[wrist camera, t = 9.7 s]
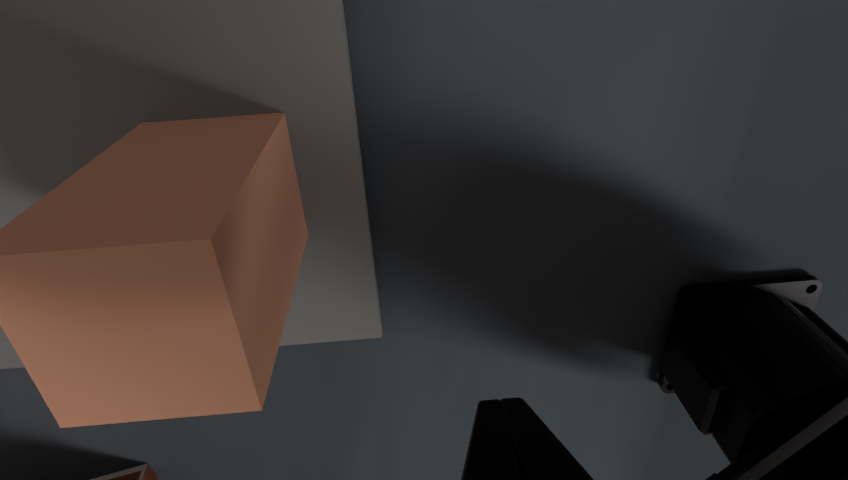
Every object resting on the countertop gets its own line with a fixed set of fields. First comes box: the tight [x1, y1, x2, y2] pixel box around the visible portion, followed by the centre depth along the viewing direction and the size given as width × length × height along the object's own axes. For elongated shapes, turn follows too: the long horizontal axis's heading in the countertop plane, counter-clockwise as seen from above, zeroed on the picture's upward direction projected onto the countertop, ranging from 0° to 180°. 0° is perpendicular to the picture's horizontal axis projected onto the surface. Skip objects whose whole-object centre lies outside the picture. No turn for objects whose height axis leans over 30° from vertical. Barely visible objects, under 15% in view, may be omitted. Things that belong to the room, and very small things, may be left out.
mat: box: [0, 0, 382, 369], centre depth 20 cm, size 18×16×1 cm
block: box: [0, 113, 308, 428], centre depth 16 cm, size 5×5×9 cm
